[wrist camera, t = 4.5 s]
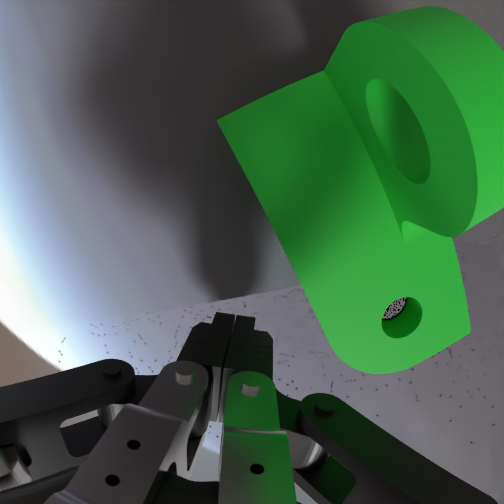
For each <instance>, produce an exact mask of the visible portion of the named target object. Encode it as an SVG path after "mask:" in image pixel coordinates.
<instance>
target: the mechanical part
mask: <svg viewBox="0 0 504 504" xmlns="http://www.w3.org/2000/svg"><path fill="white" fill-rule="evenodd" d="M216 121H217V122H218V124H219V126H220V128H221V130H222V132H223V134H224V135H225V137H226V139H227V141H228V143H229V145H230V147H231V148H232V150H233V152H234V154H235V156H236V158H237V160H238V162H239V163H240V165H241V167H242V169H243V171H244V173H245V175H246V177H247V179H248V181H249V182H250V184H251V186H252V188H253V190H254V192H255V194H256V196H257V198H258V200H259V202H260V204H261V206H262V208H263V209H264V211H265V213H266V215H267V217H268V219H269V221H270V223H271V225H272V227H273V229H274V231H275V233H276V235H277V237H278V239H279V241H280V243H281V245H282V247H283V249H284V251H285V253H286V255H287V257H288V259H289V261H290V263H291V265H292V267H293V269H294V271H295V273H296V275H297V277H298V279H299V281H300V283H301V285H302V287H303V289H304V291H305V293H306V295H307V297H308V299H309V301H310V303H311V306H312V308H313V310H314V312H315V314H316V316H317V318H318V320H319V322H320V324H321V326H322V328H323V331H324V333H325V335H326V337H327V339H328V341H329V343H330V345H331V347H332V349H333V350H334V352H335V353H336V355H337V356H338V357H339V358H340V359H341V360H342V361H343V362H345V363H346V364H347V365H349V366H351V367H352V368H354V369H357V370H359V371H362V372H366V373H372V374H388V373H394V372H398V371H402V370H405V369H407V368H410V367H412V366H414V365H416V364H418V363H420V362H421V361H423V360H425V359H427V358H429V357H430V356H432V355H434V354H436V353H437V352H439V351H441V350H443V349H444V348H446V347H448V346H449V345H451V344H453V343H454V342H456V341H457V340H459V339H461V338H462V337H464V336H465V335H467V334H469V333H470V332H471V327H470V320H469V314H468V308H467V302H466V296H465V291H464V286H463V281H462V276H461V272H460V267H459V263H458V259H457V255H456V251H455V247H454V243H453V240H452V237H454V236H457V235H459V234H461V233H463V232H465V231H466V230H468V229H470V228H471V227H473V226H475V225H476V224H478V223H479V222H481V221H483V220H484V219H486V218H488V217H489V216H491V215H492V214H494V213H495V212H497V211H499V210H500V209H502V208H503V207H504V52H503V50H502V49H501V48H500V47H499V46H498V44H497V43H496V42H495V41H494V40H493V39H492V38H491V37H490V36H489V35H488V34H487V33H486V32H485V31H484V30H483V29H481V28H480V27H479V26H477V25H476V24H475V23H474V22H472V21H471V20H469V19H467V18H466V17H464V16H462V15H460V14H458V13H456V12H454V11H451V10H448V9H445V8H441V7H434V6H427V7H420V8H415V9H410V10H405V11H400V12H396V13H391V14H387V15H383V16H379V17H375V18H371V19H368V20H364V21H361V22H357V23H354V24H352V25H351V26H349V27H348V28H347V29H346V31H345V32H344V34H343V36H342V38H341V39H340V41H339V43H338V45H337V47H336V49H335V51H334V52H333V54H332V56H331V58H330V60H329V62H328V64H327V66H326V67H325V69H324V70H323V71H321V72H318V73H316V74H314V75H311V76H309V77H306V78H304V79H301V80H299V81H297V82H294V83H292V84H290V85H288V86H285V87H283V88H281V89H279V90H276V91H274V92H272V93H270V94H268V95H266V96H264V97H261V98H259V99H257V100H255V101H253V102H251V103H249V104H247V105H245V106H243V107H241V108H239V109H237V110H235V111H233V112H231V113H229V114H227V115H226V116H224V117H222V118H220V119H218V120H216ZM402 297H406V301H405V304H404V306H403V308H402V310H401V311H400V312H399V313H398V314H397V315H395V316H393V317H391V318H388V319H382V317H383V314H384V312H385V310H386V309H387V307H388V306H389V305H390V304H391V303H392V302H394V301H395V300H397V299H399V298H402Z"/></svg>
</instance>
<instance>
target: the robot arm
mask: <svg viewBox="0 0 504 504" xmlns="http://www.w3.org/2000/svg"><path fill="white" fill-rule="evenodd" d="M254 326H255V317H248V316H241V315H237V316H236V320H235V315H233V314H227V313H220V312H216V314H215V317H214V319H213V322H212V324H210V323H204V322H200V323H199V324H197V325H196V326H194V327H193V328H192V330H191V332H190V334H189V336H188V338H187V340H186V342H185V344H184V346H183V348H182V350H181V352H180V354H179V356H178V358H177V360H176V361H175V362H171V363H169V364H167V365H166V366H165V367H164V368H163V369H162V370H161V372H160V373H159V374H158V375H135V372H134V369H133V367H132V366H131V365H130V364H129V363H127V362H125V361H122V360H118V359H105V360H101V361H97V362H94V363H90V364H87V365H84V366H80V367H76V368H73V369H69V370H66V371H62V372H58V373H55V374H51V375H47V376H43V377H40V378H36V379H32V380H28V381H24V382H20V383H16V384H12V385H8V386H3V387H0V504H301V503H299V502H297V501H296V493H295V486H294V482H295V483H296V484H297V485H298V486H299V487H300V488H301V489H303V490H304V491H305V492H306V493H307V494H308V495H309V496H310V497H311V498H312V499H313V500H314V501H316V502H317V503H318V504H498V503H497V502H496V501H495V500H494V499H493V498H492V497H491V496H489V495H487V494H485V493H484V492H482V491H480V490H478V489H477V488H475V487H473V486H471V485H470V484H468V483H466V482H465V481H463V480H461V479H459V478H458V477H456V476H454V475H453V474H451V473H449V472H448V471H446V470H445V469H443V468H441V467H440V466H438V465H437V464H435V463H433V462H432V461H430V460H429V459H427V458H425V457H424V456H422V455H421V454H419V453H418V452H416V451H415V450H413V449H412V448H410V447H408V446H407V445H405V444H404V443H402V442H401V441H399V440H398V439H396V438H395V437H393V436H392V435H391V434H389V433H388V432H386V431H385V430H383V429H382V428H380V427H379V426H377V425H376V424H374V423H373V422H372V421H370V420H369V419H367V418H366V417H364V416H363V415H362V414H360V413H359V412H357V411H356V410H355V409H353V408H352V407H350V406H349V405H348V404H346V403H345V402H344V401H342V400H341V399H339V398H338V397H335V396H333V395H330V394H325V393H314V394H310V395H308V396H306V397H305V398H304V399H303V400H302V401H298V400H295V399H292V398H289V397H287V396H285V395H283V394H282V393H280V392H279V391H278V390H277V389H276V388H275V384H274V382H273V339H272V337H271V336H270V335H269V333H268V332H265V331H258V330H254ZM219 408H220V411H219ZM96 409H97V412H98V416H97V417H94V418H91V419H88V420H85V421H82V422H79V423H76V424H73V425H70V426H67V427H63V428H60V425H61V423H62V422H63V421H65V420H66V419H69V418H73V417H76V416H79V415H82V414H85V413H88V412H91V411H94V410H96ZM218 412H219V422H222V423H223V427H222V436H221V446H220V458H219V470H218V481H213V482H212V481H211V482H194V481H190V480H189V479H190V476H191V474H192V471H193V468H194V466H195V463H196V460H197V458H198V455H199V452H200V450H201V447H202V444H203V441H204V439H205V432H206V430H207V427H208V423H209V421H215V422H216V421H217V417H218ZM331 455H332V456H333V457H332V456H331ZM337 460H338V461H339V462H338V461H337ZM342 464H343V465H344V466H343V465H342ZM347 468H348V469H349V470H348V469H347Z"/></svg>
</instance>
